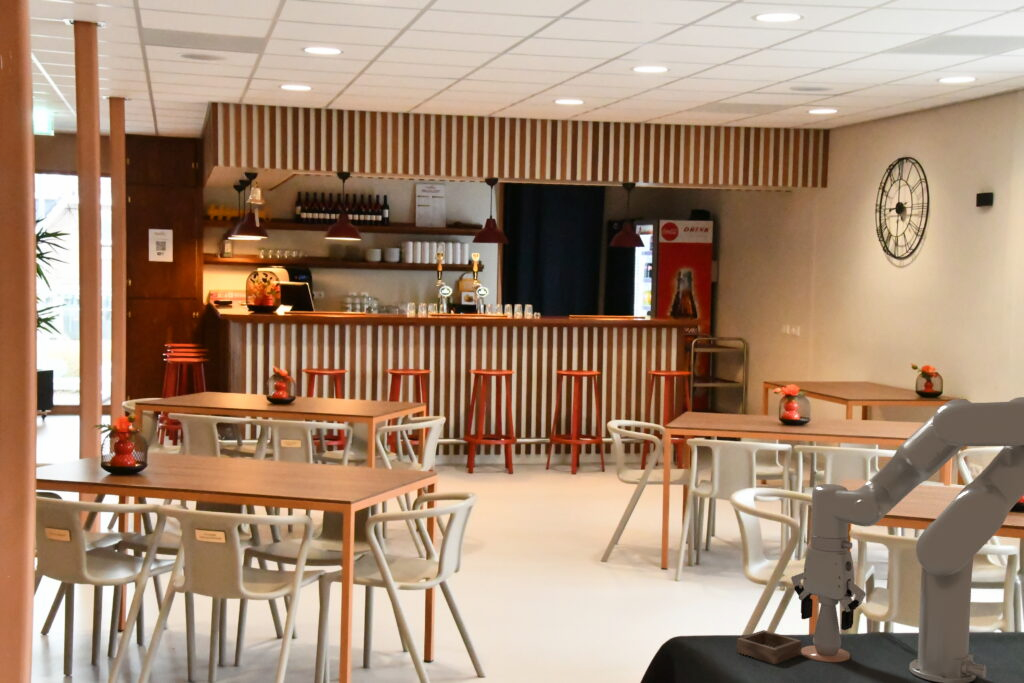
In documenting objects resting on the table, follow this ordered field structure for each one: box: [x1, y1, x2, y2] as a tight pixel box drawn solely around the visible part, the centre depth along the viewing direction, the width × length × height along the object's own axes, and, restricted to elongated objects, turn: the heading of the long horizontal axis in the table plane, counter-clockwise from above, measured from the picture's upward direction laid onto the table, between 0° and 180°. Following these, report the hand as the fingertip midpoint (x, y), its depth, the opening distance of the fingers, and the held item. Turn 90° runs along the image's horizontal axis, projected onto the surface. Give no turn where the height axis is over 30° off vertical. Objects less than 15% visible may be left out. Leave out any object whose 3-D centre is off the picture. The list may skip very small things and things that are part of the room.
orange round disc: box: [801, 644, 851, 663], centre depth 241 cm, size 10×10×1 cm
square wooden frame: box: [736, 629, 802, 665], centre depth 241 cm, size 10×10×3 cm
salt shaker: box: [812, 596, 842, 656], centre depth 241 cm, size 6×6×13 cm
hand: (826, 623), depth 241 cm, fingers open, 9 cm apart
